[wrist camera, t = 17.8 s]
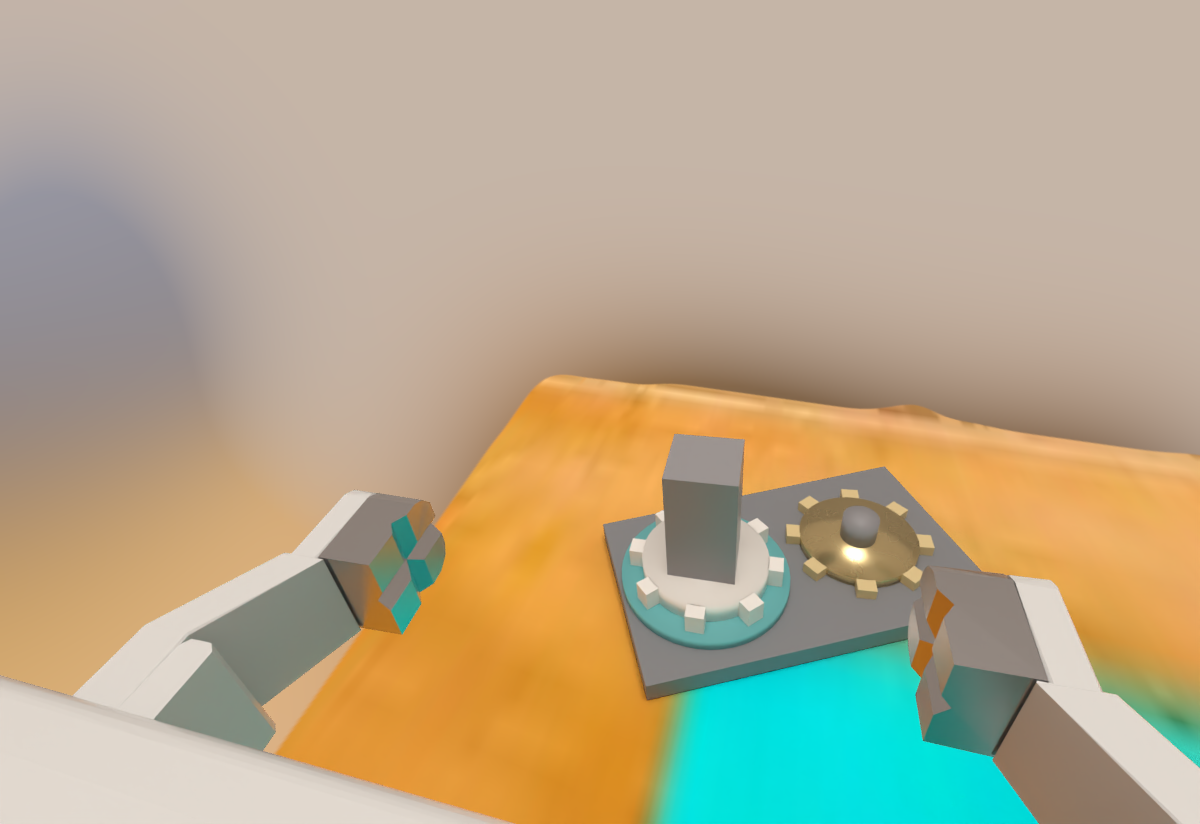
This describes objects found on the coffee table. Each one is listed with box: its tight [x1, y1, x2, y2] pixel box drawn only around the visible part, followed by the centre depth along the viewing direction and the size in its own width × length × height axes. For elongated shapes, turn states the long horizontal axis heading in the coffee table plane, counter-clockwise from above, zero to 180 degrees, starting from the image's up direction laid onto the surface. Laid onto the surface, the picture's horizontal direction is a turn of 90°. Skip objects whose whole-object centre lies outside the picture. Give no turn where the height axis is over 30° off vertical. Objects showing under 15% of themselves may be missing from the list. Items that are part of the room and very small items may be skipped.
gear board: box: [603, 467, 982, 700], centre depth 42 cm, size 24×14×4 cm, turn 101°
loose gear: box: [629, 434, 784, 634], centre depth 39 cm, size 10×10×10 cm
